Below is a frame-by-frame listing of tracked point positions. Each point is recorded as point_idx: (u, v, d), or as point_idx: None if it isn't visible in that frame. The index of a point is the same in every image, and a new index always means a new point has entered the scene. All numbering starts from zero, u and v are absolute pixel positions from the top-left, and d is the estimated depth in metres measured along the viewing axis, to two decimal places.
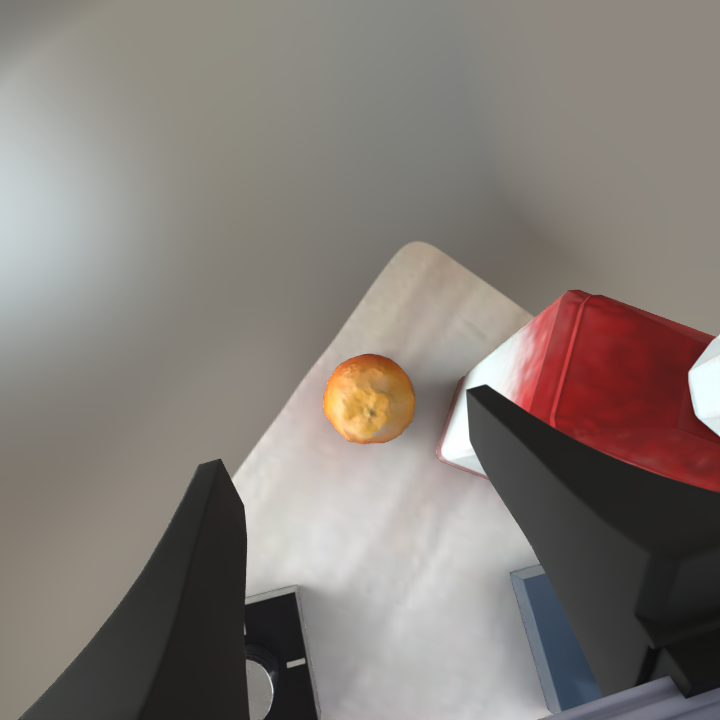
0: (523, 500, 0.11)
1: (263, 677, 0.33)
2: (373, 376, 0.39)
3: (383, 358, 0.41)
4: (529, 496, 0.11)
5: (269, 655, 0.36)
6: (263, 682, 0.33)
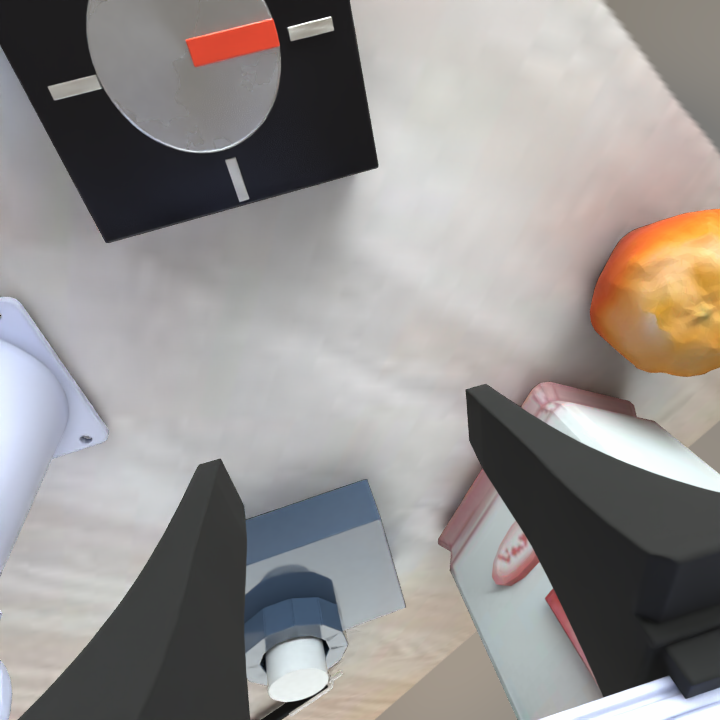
0: (523, 500, 0.11)
1: (241, 122, 0.12)
2: None
3: None
4: (529, 496, 0.11)
5: None
6: (229, 123, 0.12)
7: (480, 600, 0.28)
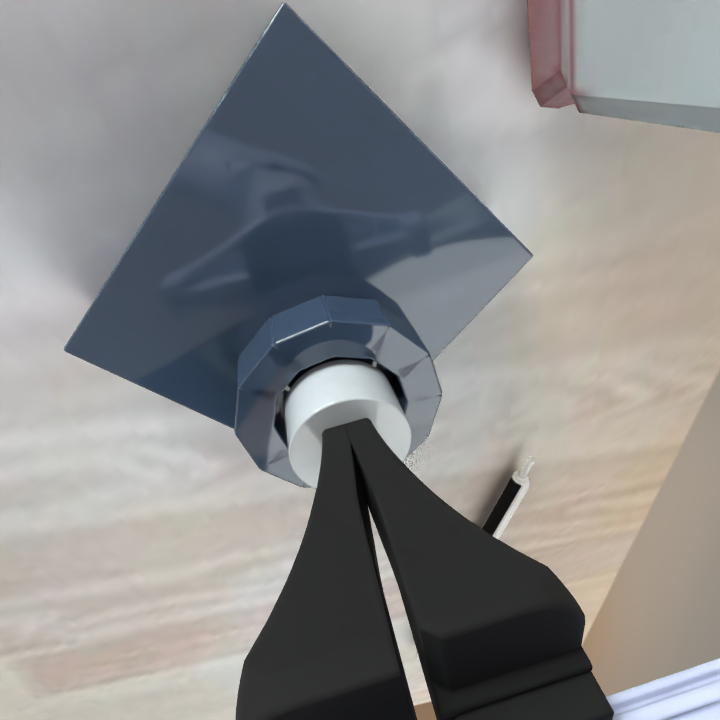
0: (385, 541, 0.11)
1: None
2: None
3: None
4: (385, 539, 0.11)
5: None
6: None
7: (661, 44, 0.10)
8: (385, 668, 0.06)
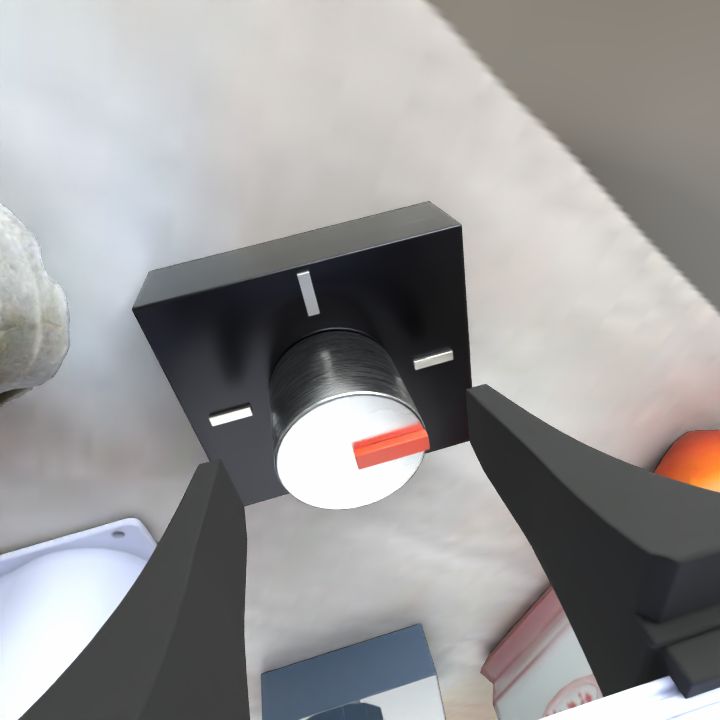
0: (523, 500, 0.11)
1: (385, 488, 0.14)
2: None
3: None
4: (529, 496, 0.11)
5: None
6: (376, 490, 0.14)
7: None
8: None
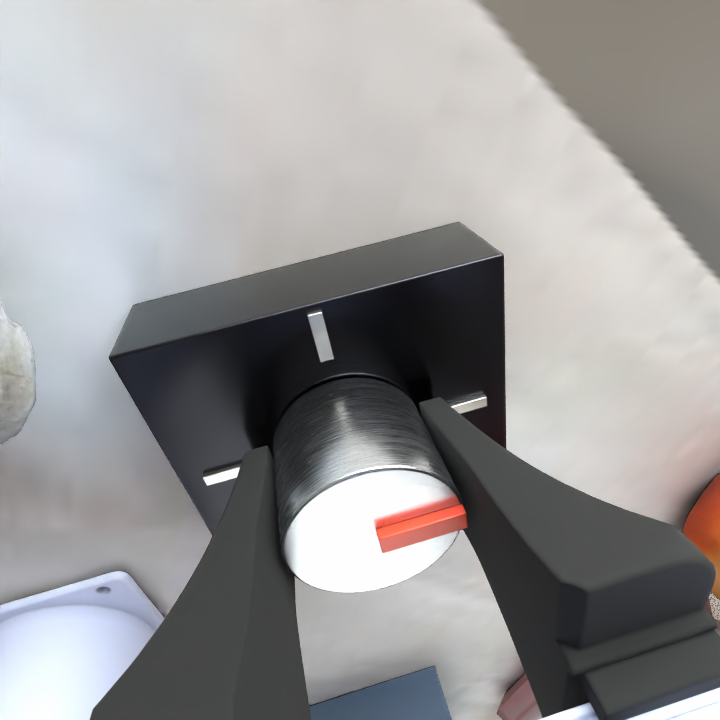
0: (470, 516, 0.11)
1: (412, 568, 0.12)
2: None
3: None
4: (474, 513, 0.11)
5: None
6: (402, 570, 0.12)
7: None
8: None
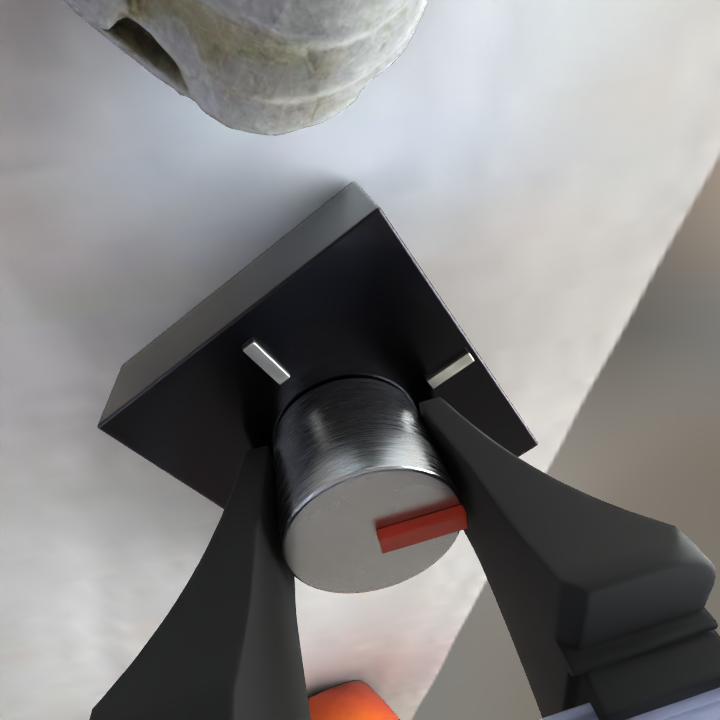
0: (470, 516, 0.11)
1: (412, 568, 0.12)
2: None
3: None
4: (474, 513, 0.11)
5: None
6: (401, 571, 0.12)
7: None
8: None
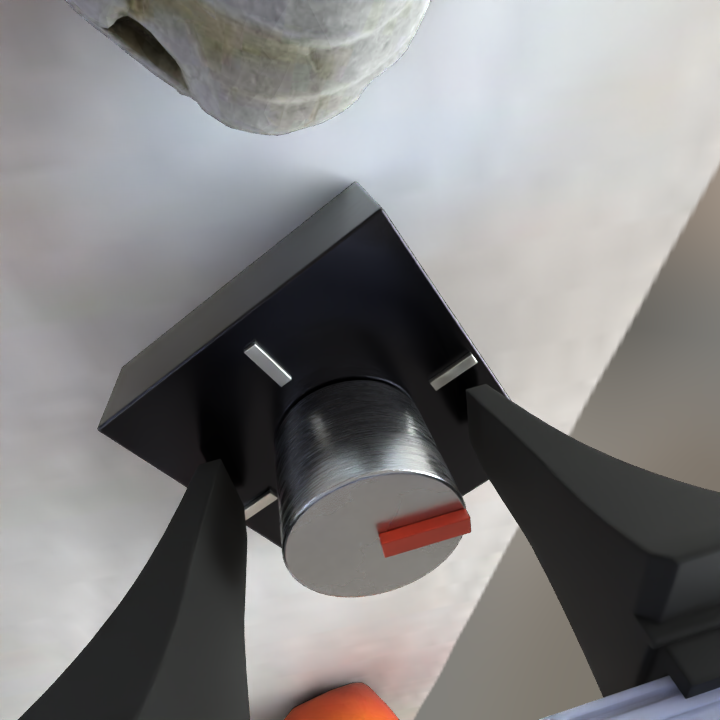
0: (523, 500, 0.11)
1: (414, 573, 0.12)
2: None
3: None
4: (529, 496, 0.11)
5: None
6: (404, 574, 0.12)
7: None
8: None
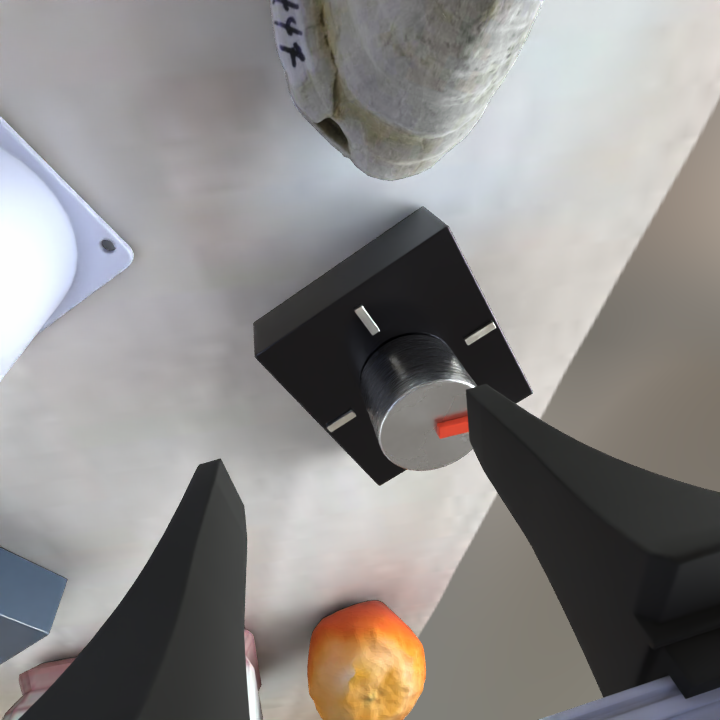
0: (523, 500, 0.11)
1: (453, 456, 0.19)
2: None
3: None
4: (529, 496, 0.11)
5: None
6: (446, 456, 0.19)
7: None
8: None
